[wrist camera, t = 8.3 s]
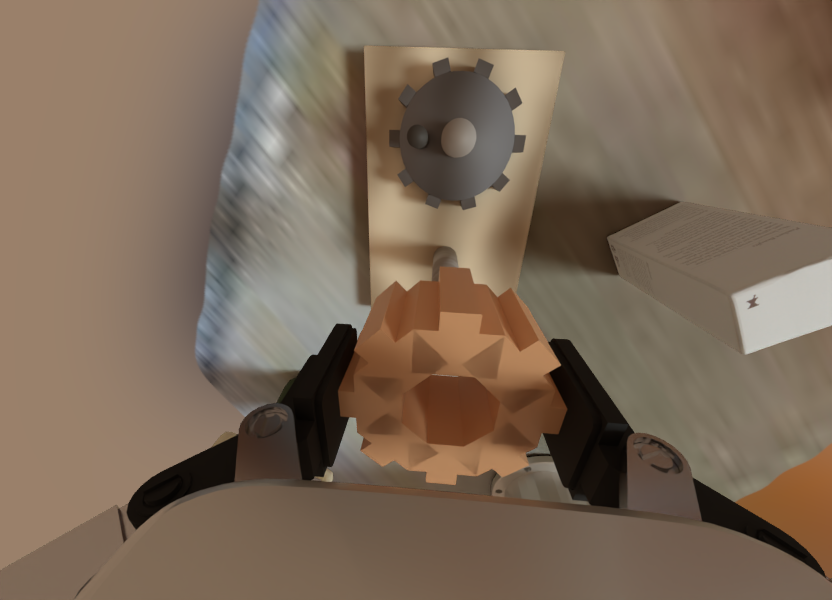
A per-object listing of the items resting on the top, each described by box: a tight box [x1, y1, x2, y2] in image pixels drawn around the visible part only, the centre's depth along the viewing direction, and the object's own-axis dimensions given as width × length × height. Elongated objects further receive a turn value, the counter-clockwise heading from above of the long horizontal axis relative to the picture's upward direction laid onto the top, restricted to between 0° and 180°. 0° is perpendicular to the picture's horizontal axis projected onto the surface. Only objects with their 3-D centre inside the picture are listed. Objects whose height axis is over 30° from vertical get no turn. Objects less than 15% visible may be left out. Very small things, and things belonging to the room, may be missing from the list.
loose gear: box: [338, 267, 567, 485], centre depth 11 cm, size 7×7×4 cm
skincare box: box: [607, 202, 832, 355], centre depth 20 cm, size 6×4×12 cm
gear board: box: [364, 46, 565, 309], centre depth 21 cm, size 13×20×8 cm, turn 178°
